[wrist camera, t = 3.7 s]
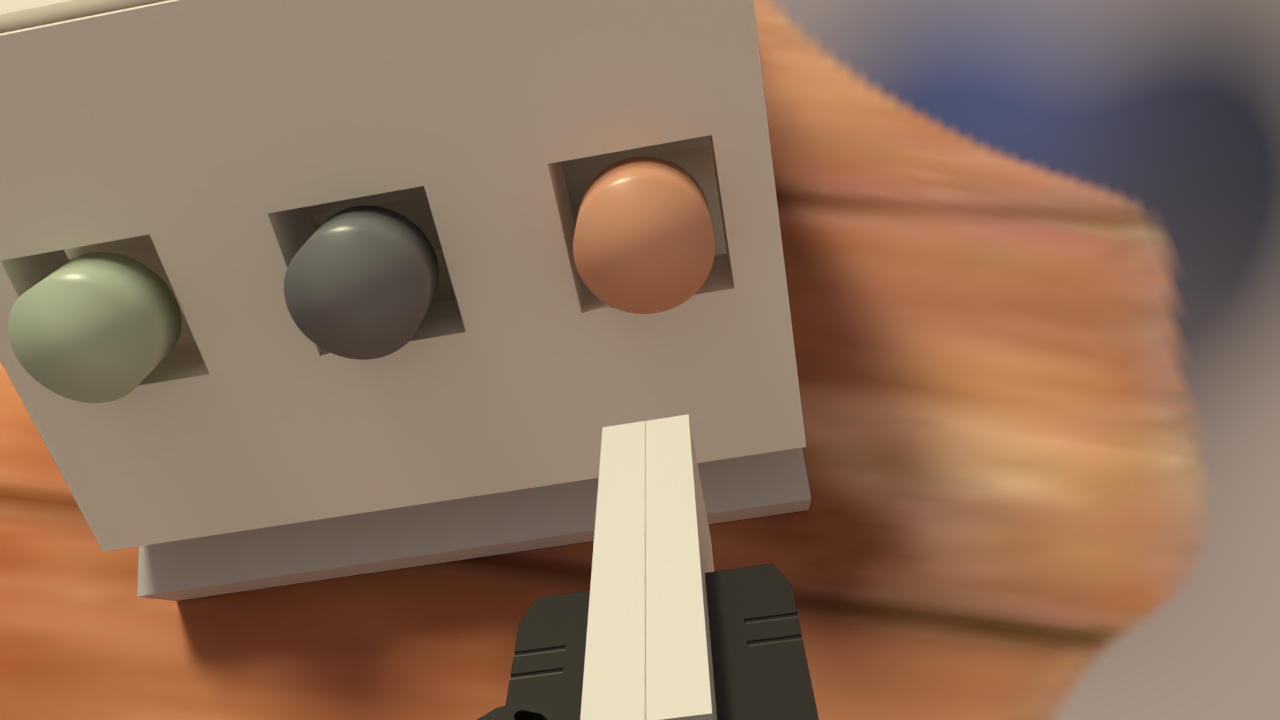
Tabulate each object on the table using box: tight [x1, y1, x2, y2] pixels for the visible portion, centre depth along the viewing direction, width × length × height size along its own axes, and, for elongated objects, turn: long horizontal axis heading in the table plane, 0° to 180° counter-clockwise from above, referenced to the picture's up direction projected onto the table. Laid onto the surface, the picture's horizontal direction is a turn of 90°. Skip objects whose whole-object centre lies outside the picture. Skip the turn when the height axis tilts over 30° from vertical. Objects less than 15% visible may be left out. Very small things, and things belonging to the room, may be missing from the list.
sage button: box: [8, 252, 182, 403], centre depth 30 cm, size 4×4×4 cm
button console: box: [0, 0, 811, 601], centre depth 32 cm, size 25×17×17 cm
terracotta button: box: [573, 157, 715, 314], centre depth 28 cm, size 4×4×4 cm
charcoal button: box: [284, 205, 439, 360], centre depth 29 cm, size 4×4×4 cm
